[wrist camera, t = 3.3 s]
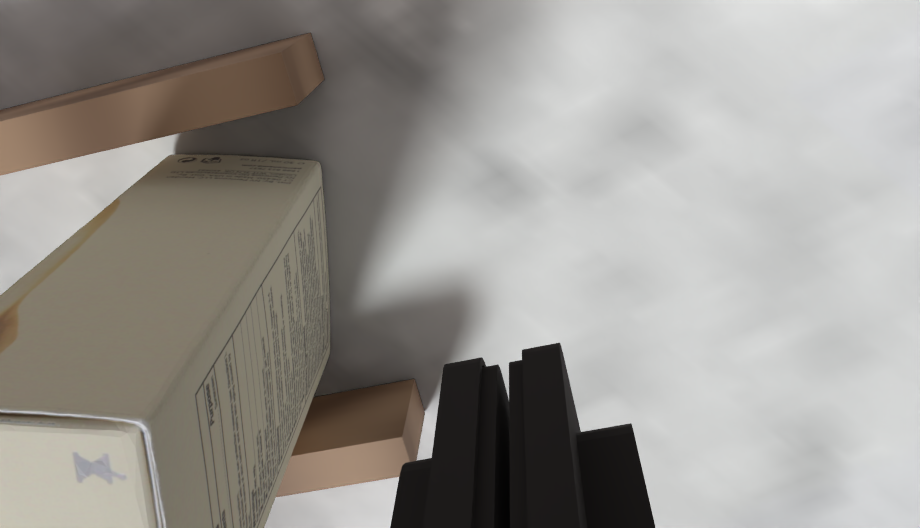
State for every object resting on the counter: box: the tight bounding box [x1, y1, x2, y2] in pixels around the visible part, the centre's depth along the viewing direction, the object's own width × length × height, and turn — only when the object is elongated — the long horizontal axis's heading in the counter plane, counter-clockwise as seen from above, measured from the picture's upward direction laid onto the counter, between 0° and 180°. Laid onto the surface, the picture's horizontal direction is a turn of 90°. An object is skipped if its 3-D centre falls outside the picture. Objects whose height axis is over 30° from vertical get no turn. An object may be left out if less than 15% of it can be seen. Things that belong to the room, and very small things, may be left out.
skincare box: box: [0, 155, 330, 528], centre depth 19 cm, size 6×4×12 cm
